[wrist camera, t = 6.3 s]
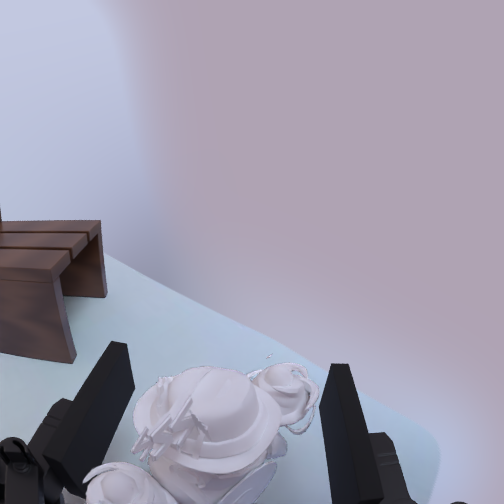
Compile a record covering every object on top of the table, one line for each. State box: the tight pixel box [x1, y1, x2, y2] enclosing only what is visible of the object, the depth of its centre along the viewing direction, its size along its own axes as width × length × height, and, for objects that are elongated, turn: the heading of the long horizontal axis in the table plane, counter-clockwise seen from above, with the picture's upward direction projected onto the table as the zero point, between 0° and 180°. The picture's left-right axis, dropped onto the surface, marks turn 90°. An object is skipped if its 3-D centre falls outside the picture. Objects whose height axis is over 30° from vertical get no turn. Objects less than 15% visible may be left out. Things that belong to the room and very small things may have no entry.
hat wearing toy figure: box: [83, 354, 319, 504], centre depth 9 cm, size 9×4×12 cm, turn 140°
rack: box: [0, 211, 108, 364], centre depth 24 cm, size 14×12×10 cm
